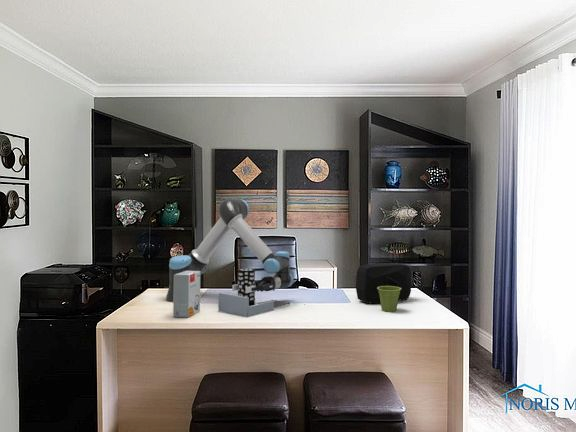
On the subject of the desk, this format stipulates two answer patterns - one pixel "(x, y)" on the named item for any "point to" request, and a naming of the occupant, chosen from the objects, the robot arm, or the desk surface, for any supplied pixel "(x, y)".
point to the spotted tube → (246, 284)
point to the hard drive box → (186, 294)
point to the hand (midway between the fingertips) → (239, 289)
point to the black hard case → (382, 280)
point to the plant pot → (389, 297)
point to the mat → (276, 303)
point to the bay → (242, 305)
